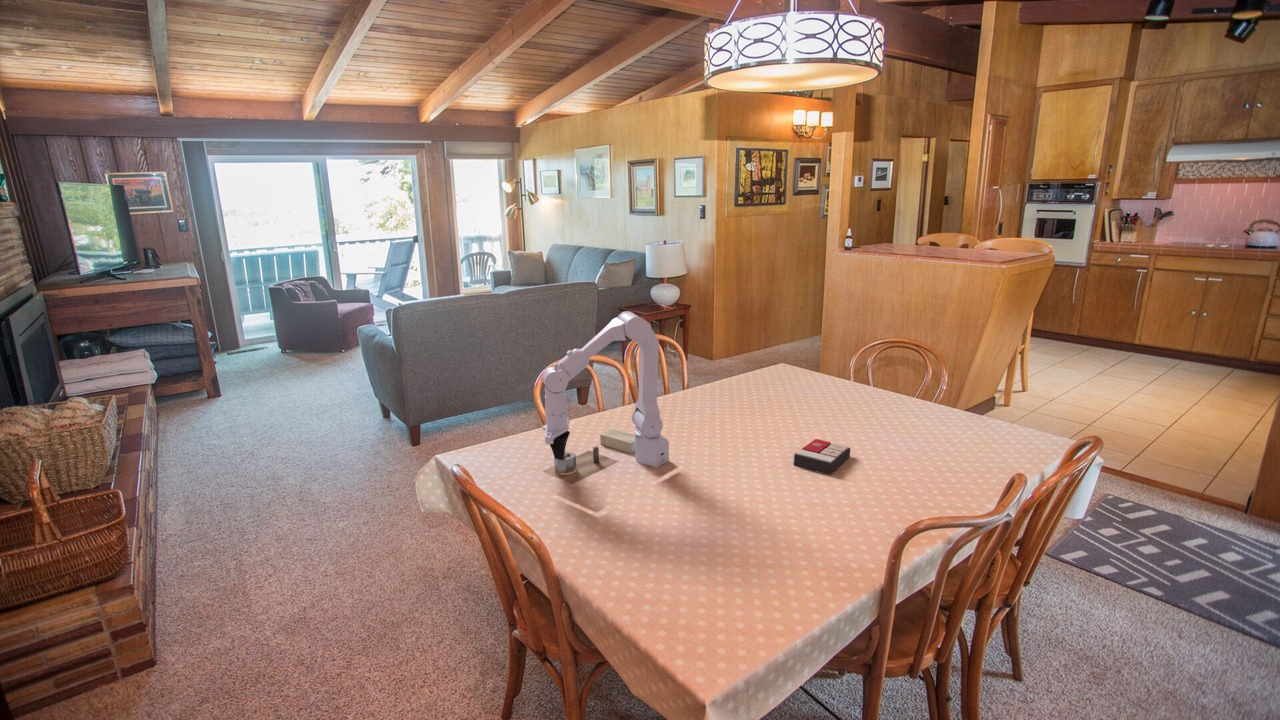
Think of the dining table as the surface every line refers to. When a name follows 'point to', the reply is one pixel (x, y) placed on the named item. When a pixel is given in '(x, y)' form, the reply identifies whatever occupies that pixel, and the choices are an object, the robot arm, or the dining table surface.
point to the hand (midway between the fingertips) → (559, 458)
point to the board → (584, 466)
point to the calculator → (822, 456)
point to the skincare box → (618, 440)
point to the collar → (566, 463)
